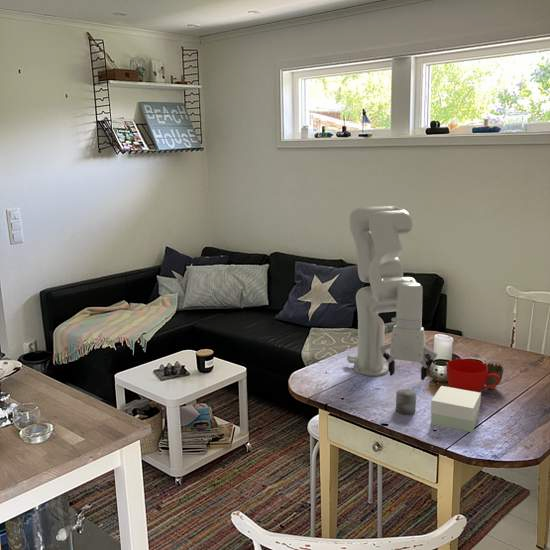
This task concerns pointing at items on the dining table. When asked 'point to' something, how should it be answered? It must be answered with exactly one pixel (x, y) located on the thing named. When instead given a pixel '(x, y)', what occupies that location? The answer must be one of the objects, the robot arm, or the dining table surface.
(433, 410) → the tower top block
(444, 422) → the tower base block
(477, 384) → the ceramic cup
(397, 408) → the slate drum
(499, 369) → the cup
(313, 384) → the dining table surface
